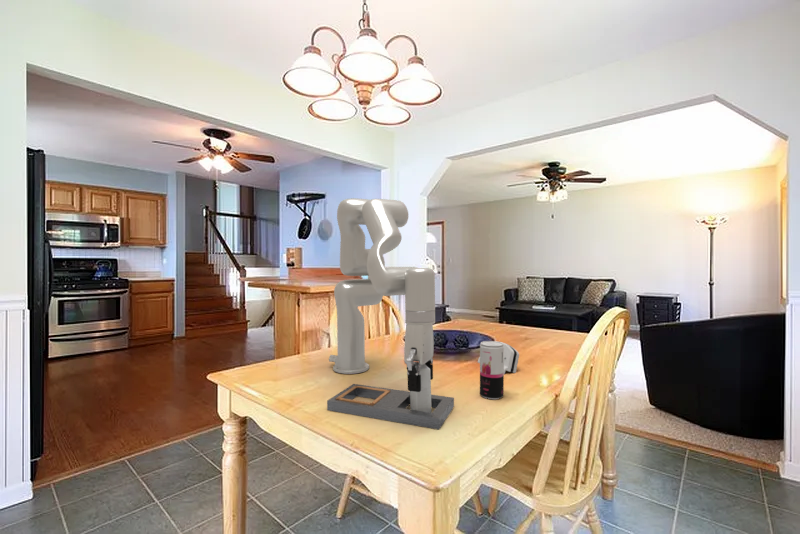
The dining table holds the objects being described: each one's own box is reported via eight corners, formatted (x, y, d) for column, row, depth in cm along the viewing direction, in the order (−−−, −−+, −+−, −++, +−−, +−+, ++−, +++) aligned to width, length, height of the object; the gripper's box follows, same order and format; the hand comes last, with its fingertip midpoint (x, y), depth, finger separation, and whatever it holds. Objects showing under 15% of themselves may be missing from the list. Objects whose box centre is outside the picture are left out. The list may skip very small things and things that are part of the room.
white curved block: (476, 361, 143) (484, 336, 144) (486, 364, 145) (494, 339, 146) (503, 374, 127) (512, 345, 128) (514, 377, 129) (523, 349, 130)
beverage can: (487, 401, 104) (487, 346, 104) (475, 392, 110) (475, 341, 110) (508, 398, 106) (508, 345, 106) (495, 390, 112) (496, 340, 112)
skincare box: (432, 417, 94) (432, 368, 93) (414, 419, 93) (414, 370, 92) (425, 407, 100) (425, 362, 99) (408, 409, 99) (408, 363, 98)
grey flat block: (327, 410, 98) (327, 399, 98) (353, 392, 111) (353, 383, 111) (439, 429, 87) (439, 417, 87) (453, 407, 100) (453, 396, 100)
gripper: (417, 312, 105) (418, 373, 105) (393, 321, 89) (393, 394, 89) (443, 313, 102) (444, 376, 102) (423, 323, 86) (424, 398, 86)
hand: (420, 384), depth 96 cm, fingers open, 9 cm apart
